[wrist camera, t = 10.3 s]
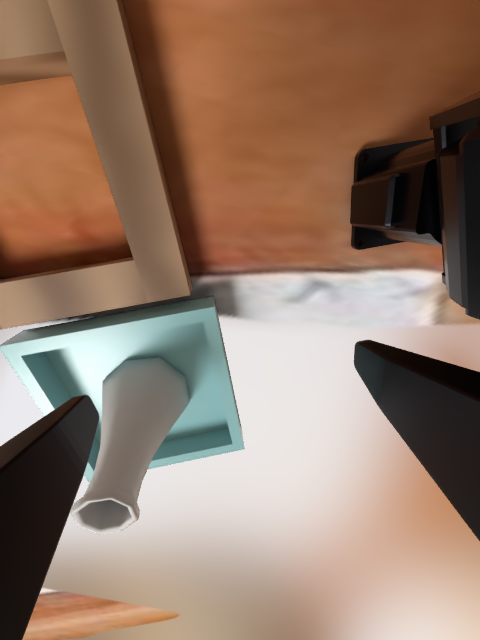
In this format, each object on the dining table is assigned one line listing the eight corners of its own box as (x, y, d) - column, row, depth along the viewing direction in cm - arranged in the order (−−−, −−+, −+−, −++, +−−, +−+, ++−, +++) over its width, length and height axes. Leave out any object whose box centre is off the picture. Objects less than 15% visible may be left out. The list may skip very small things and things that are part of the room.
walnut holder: (118, -14, 12) (102, -54, 10) (192, 287, 19) (190, 295, 17) (-216, 28, 12) (-296, -7, 10) (-17, 324, 18) (-42, 337, 16)
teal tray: (213, 295, 19) (214, 306, 17) (241, 428, 26) (244, 449, 23) (23, 330, 19) (-2, 346, 16) (99, 457, 25) (88, 481, 23)
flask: (165, 342, 20) (127, 450, 11) (203, 402, 23) (198, 526, 14) (87, 375, 20) (-11, 505, 11) (134, 429, 23) (87, 567, 14)
